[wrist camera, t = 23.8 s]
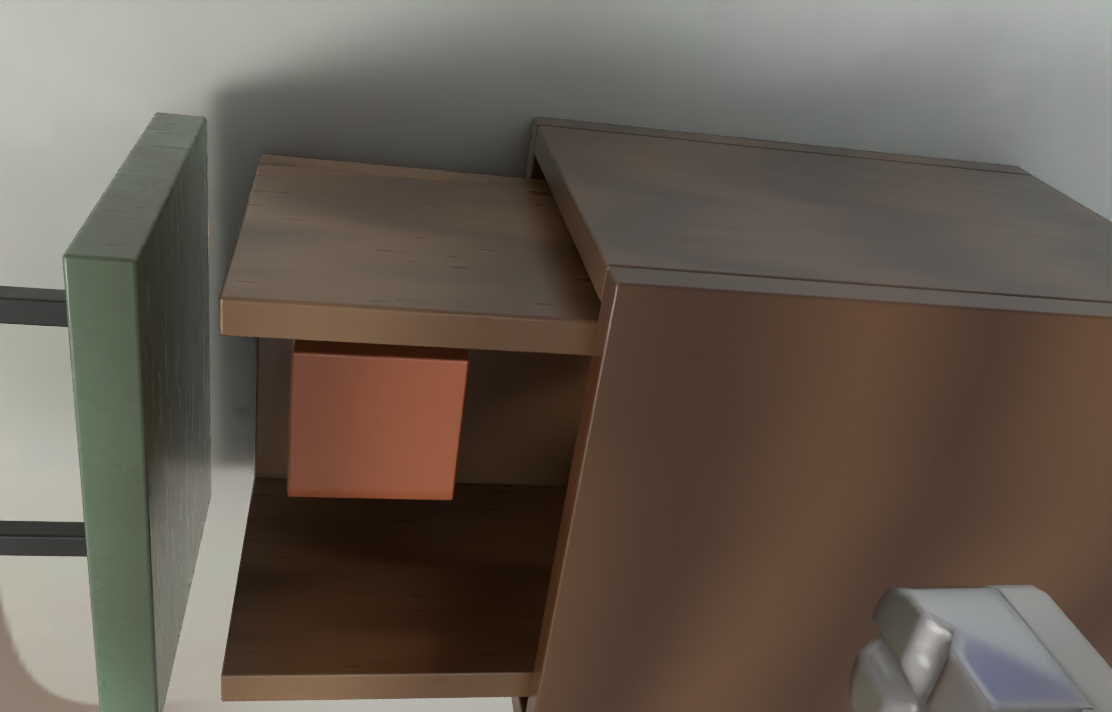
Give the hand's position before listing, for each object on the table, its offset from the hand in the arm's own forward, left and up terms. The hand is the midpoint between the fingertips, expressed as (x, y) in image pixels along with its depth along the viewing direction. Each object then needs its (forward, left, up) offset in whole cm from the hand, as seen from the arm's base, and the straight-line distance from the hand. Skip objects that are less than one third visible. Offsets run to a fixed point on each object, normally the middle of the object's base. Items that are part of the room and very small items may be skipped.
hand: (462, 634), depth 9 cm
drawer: (-1, -7, -19) cm, 20 cm away
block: (0, -7, -18) cm, 19 cm away
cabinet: (+11, -7, -20) cm, 24 cm away
